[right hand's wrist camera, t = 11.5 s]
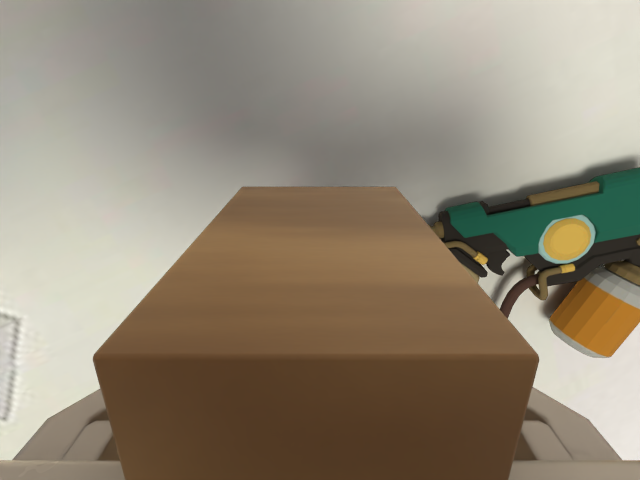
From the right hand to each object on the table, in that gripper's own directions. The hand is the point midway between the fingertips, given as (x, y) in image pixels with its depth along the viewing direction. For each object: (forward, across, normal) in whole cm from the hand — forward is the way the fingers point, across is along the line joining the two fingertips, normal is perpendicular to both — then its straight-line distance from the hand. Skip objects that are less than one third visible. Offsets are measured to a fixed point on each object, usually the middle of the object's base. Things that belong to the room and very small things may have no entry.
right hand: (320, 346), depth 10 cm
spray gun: (+16, +15, -4) cm, 22 cm away
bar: (+3, 0, -8) cm, 8 cm away
